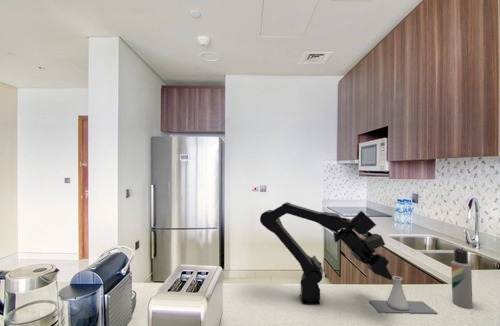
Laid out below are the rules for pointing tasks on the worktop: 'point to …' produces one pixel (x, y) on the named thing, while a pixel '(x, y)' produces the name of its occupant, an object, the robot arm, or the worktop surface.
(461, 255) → the lotion bottle
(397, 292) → the flask
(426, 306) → the charcoal mat
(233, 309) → the worktop surface
